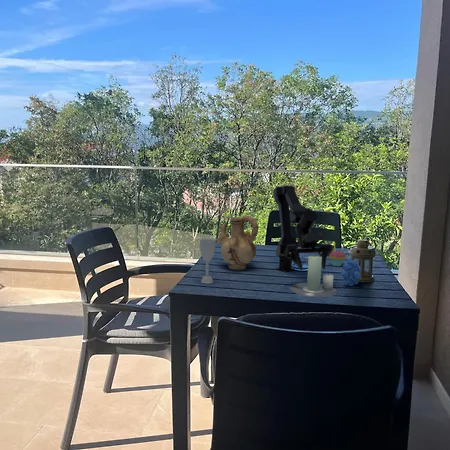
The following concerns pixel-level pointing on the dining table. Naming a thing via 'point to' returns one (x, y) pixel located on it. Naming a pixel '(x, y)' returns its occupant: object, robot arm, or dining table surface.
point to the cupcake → (336, 257)
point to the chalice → (207, 255)
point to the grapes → (351, 272)
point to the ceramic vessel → (238, 242)
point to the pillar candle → (314, 273)
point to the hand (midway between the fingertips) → (313, 269)
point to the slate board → (302, 290)
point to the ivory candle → (327, 281)
